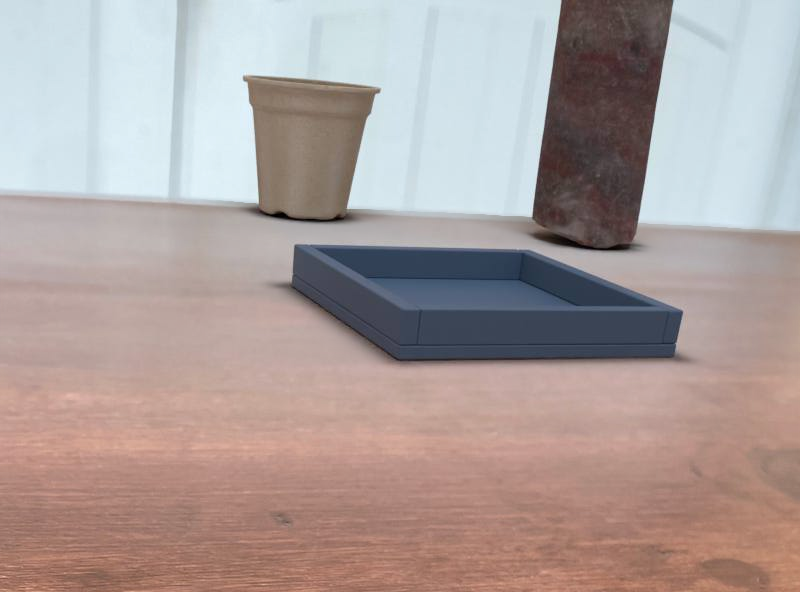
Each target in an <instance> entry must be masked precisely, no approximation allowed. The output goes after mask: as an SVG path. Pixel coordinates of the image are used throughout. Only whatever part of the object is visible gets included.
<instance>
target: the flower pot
mask: <svg viewBox="0 0 800 592" xmlns="http://www.w3.org/2000/svg"><path fill="white" fill-rule="evenodd" d="M242 82H245V83H246V84H247V89H248V90H247V91H248V103H249V105H250V106H251V108H252V118H253V119H252V120H253V133H254V146H255V147H254V148H255V160H256V161H255V164H256V177H257V193H258V208H259V210H261V211H262V212H264V213H265V214H268V215H278V214H283V213H284V214H285V215H286V216H288V217H289V218H293V219H299V220H307V219H309V220H310V219H312V220H318V221H328V220H333V219H334V218H344V217H345V216H346V215H347V210H348V204H349V200H350V195H351V191H352V187H353V181H354V178H355V177H354V176H355V173H356V168H357V163H358V160H359V159H358V158H359V155H360V154H359V153H360V149H361V144H362V140H363V137H364V132H365V127H366V123H367V120H368V117H369V116H370V115H371V114H372V110H373V106H374V101H375V98H376V95H378V94H380V93H381V89H382V87H379V86H374V85H367V84H358V83H357V84H356V83H349V82H344V81H343V82H340V81H332V80H324V79H323V80H322V79H313V78H304V77H303V78H302V77H288V76H274V75H273V76H272V75H256V74H255V75H253V74H246V75H242Z"/></svg>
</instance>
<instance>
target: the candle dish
mask: <svg viewBox="0 0 800 592" xmlns="http://www.w3.org/2000/svg"><path fill="white" fill-rule="evenodd" d="M292 257H293V261H292V274H291V275H292V276H291V286H292V287H293V288H295V290H297V291H299V292H300V293H301V294H304V296H306V297H307V298H309V299H310V300H312V301H313V302H315V303H316V304H317V305H318V306H321V307H322V308H323V309H325V310H326V311H327V312H329V313H330V314H331V315H333V316H335V317H336V318H338V319H339V320H340V321H342V322H344V323H345V324H346V325H348V326H349V327H351V328H352V329H353V330H355V331H357V332H358V333H359V334H360V335H362V336H363V337H365V338H367V339H368V340H369V341H371V342H372V343H374V344H375V345H376V346H378V347H379V348H381V349H382V350H384V351H385V352H387V353H388V354H390V355H391V356H393V357H394V358H395V359H397V360H401V361H402V360H404V361H405V360H410V361H411V360H502V359H503V360H504V359H505V360H507V359H508V360H509V359H512V360H513V359H514V360H515V359H601V358H602V359H604V358H605V359H606V358H607V359H608V358H609V359H610V358H611V359H613V358H616V359H617V358H673V357H675V352H676V348H677V343H678V337H679V334H680V330H681V329H680V328H681V324H682V321H683V320H682V319H683V314H684V311H683V310H682V309H680V308H677V307H674V306H673V305H670V304H668V303H665V302H663V301H660V300H657V299H655V298H652V297H650V296H647V295H645V294H642V293H640V292H638V291H635V290H633V289H630V288H627V287H624V286H622V285H619V284H618V283H617V284H616V283H614V282H612V281H609V280H607V279H604V278H602V277H599V276H597V275H594V274H591V273H589V272H587V271H584V270H582V269H580V268H576V267H574V266H571V265H569V264H567V263H565V262H561V261H559V260H557V259H554V258H551V257H549V256H546V255H544V254H541V253H538V252H536V251H533V250H531V249H517V248H479V247H478V248H477V247H475V248H473V247H437V246H436V247H435V246H396V245H395V246H394V245H393V246H390V245H354V244H352V245H350V244H349V245H348V244H347V245H346V244H312V243H311V244H306V243H295V244H294V246H293V256H292Z"/></svg>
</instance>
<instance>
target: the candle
mask: <svg viewBox="0 0 800 592" xmlns="http://www.w3.org/2000/svg"><path fill="white" fill-rule="evenodd" d="M674 1H675V0H560V9H559V18H558V23H557V31H556V38H555V46H554V51H553V59H552V68H551V74H550V79H549V80H550V81H549V86H548V87H549V88H548V94H547V100H546V101H547V102H546V110H545V117H544V124H543V132H542V138H541V145H540V152H539V159H538V168H537V174H536V181H535V189H534V198H533V205H532V214H531V219H532V220H533V221H534V222H535V223H536V224H537V225H538V226H541V227H543V228H546V229H548V230H549V231H550V232H551V233H553V234H556V235H558V236H560V237H563V238H566V239H568V240H570V241H572V242H576V244H578V245H581V246H584V247H591V248H594V249H609V248H611V247H616V246H617V245H630V244H631V243H632V242H633V241H634V240H635V239H634V238H635V236H636V235H637V231H638V230H637V229H638V223H639V219H640V215H641V214H640V213H641V207H642V201H643V195H644V189H645V184H646V177H647V169H648V163H649V157H650V149H651V143H652V137H653V130H654V124H655V118H656V117H655V116H656V109H657V104H658V103H657V102H658V98H659V91H660V86H661V80H662V74H663V68H664V61H665V56H666V50H667V45H668V40H669V33H670V27H671V26H670V25H671V19H672V12H673V6H674Z"/></svg>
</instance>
